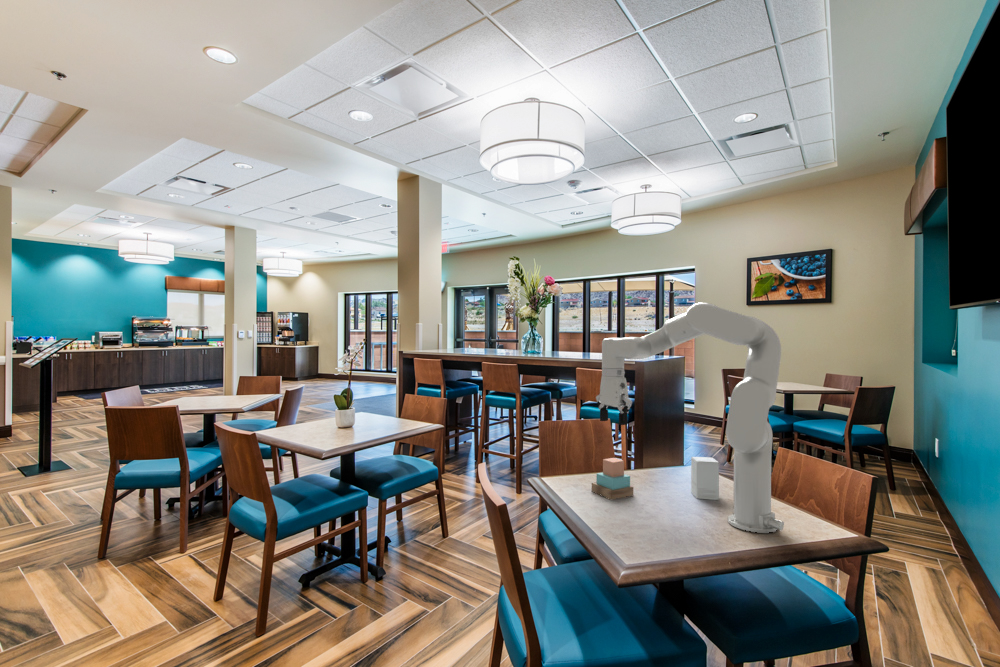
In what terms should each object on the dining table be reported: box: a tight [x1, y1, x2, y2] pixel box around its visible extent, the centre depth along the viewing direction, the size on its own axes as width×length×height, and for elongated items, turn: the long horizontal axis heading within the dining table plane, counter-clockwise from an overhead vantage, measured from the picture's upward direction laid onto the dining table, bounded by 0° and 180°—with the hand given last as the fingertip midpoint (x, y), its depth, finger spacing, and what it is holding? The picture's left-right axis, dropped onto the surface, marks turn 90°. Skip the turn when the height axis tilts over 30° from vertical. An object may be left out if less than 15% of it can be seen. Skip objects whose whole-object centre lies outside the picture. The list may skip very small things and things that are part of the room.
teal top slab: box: [596, 472, 631, 490], centre depth 162 cm, size 8×8×4 cm
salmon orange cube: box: [602, 457, 625, 477], centre depth 162 cm, size 5×5×5 cm
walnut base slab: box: [591, 482, 634, 500], centre depth 162 cm, size 10×10×4 cm
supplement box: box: [690, 456, 720, 501], centre depth 160 cm, size 7×7×13 cm
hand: (613, 422), depth 162 cm, fingers open, 9 cm apart
